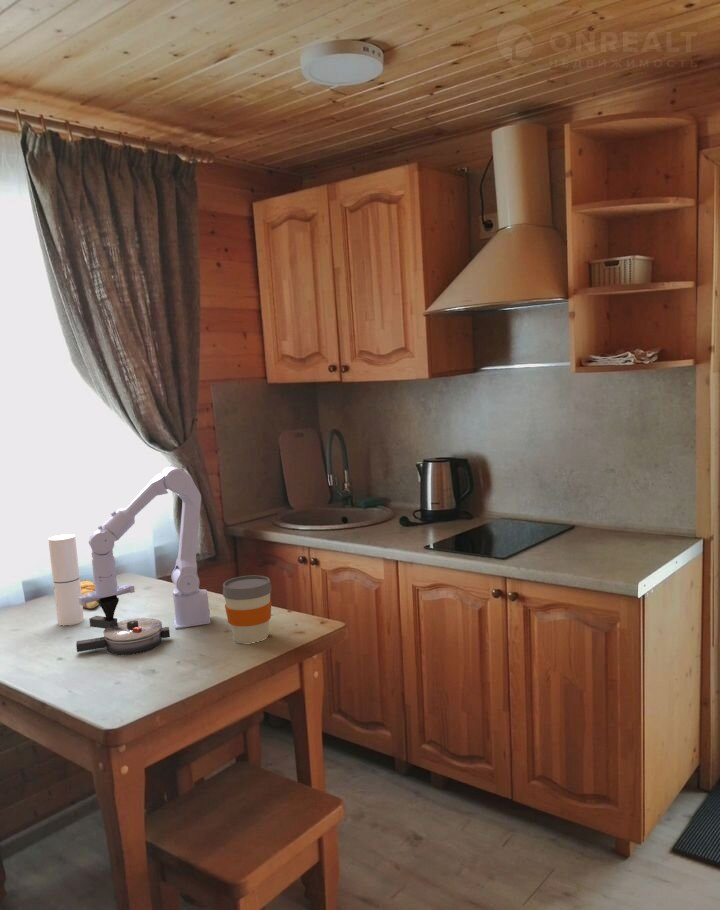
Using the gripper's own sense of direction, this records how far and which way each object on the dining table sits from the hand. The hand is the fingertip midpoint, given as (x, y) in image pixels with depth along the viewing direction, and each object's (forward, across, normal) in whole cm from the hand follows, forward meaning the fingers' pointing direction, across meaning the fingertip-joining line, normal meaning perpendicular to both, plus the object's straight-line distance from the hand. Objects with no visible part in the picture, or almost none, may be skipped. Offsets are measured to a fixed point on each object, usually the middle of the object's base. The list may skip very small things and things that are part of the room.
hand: (110, 624), depth 204 cm
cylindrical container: (+4, +4, -22) cm, 23 cm away
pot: (+4, 0, +10) cm, 10 cm away
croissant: (+4, -6, -38) cm, 39 cm away
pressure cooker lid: (0, -1, +8) cm, 8 cm away
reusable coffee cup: (+4, -26, +29) cm, 39 cm away
